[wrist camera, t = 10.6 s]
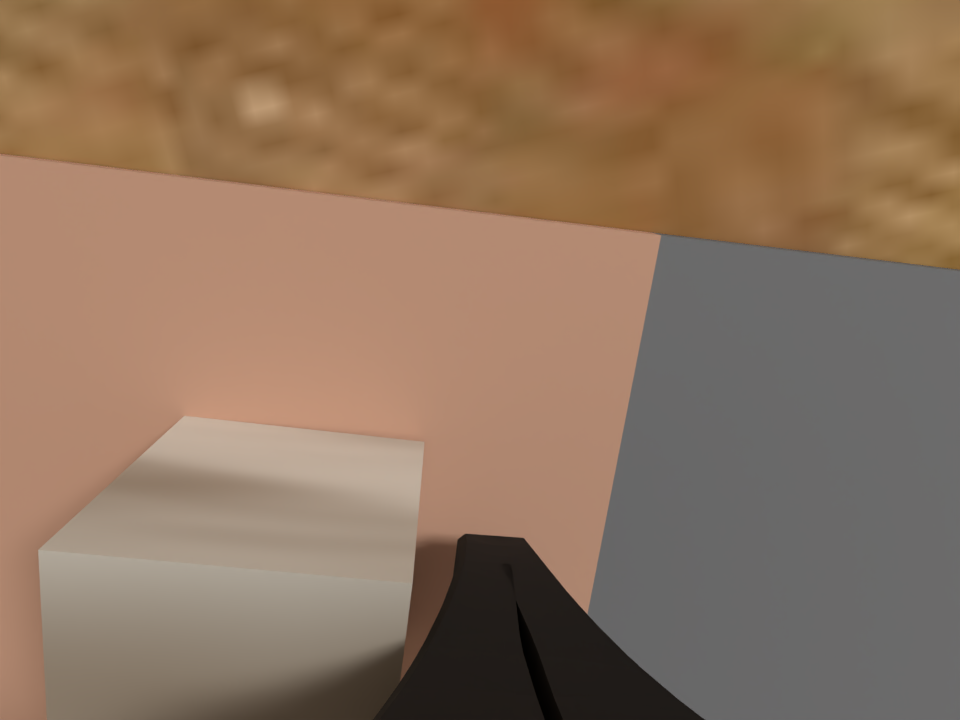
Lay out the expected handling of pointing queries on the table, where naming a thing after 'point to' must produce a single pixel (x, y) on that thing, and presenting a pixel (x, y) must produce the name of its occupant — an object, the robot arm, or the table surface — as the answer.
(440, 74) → the table surface
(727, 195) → the table surface
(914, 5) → the table surface
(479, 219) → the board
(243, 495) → the cream block
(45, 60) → the table surface
